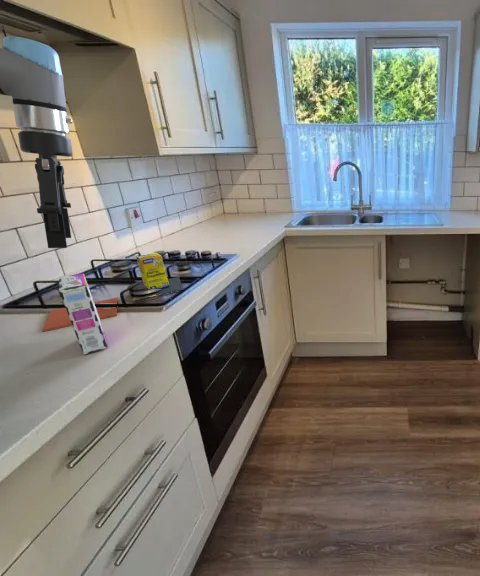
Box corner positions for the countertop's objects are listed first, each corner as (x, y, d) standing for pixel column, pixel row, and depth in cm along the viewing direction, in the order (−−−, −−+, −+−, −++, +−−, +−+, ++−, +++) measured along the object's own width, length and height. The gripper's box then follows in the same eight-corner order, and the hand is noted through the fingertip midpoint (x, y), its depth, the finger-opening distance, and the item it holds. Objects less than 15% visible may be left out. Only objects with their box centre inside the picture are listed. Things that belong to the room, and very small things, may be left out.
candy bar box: (109, 348, 86) (86, 284, 79) (83, 356, 83) (57, 290, 77) (105, 331, 94) (84, 271, 87) (81, 337, 91) (57, 276, 84)
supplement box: (150, 292, 116) (140, 260, 112) (144, 287, 120) (135, 256, 115) (170, 287, 120) (161, 255, 116) (164, 282, 124) (155, 252, 119)
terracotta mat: (42, 332, 94) (41, 330, 94) (51, 312, 105) (51, 310, 105) (116, 315, 102) (116, 313, 102) (118, 299, 113) (117, 297, 113)
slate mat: (133, 301, 111) (132, 299, 111) (133, 287, 122) (132, 285, 122) (183, 290, 118) (183, 289, 118) (179, 278, 129) (178, 276, 129)
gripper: (65, 131, 62) (81, 252, 68) (73, 140, 81) (85, 234, 87) (4, 123, 58) (26, 253, 63) (27, 134, 77) (43, 234, 82)
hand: (60, 242), depth 75 cm, fingers open, 13 cm apart
